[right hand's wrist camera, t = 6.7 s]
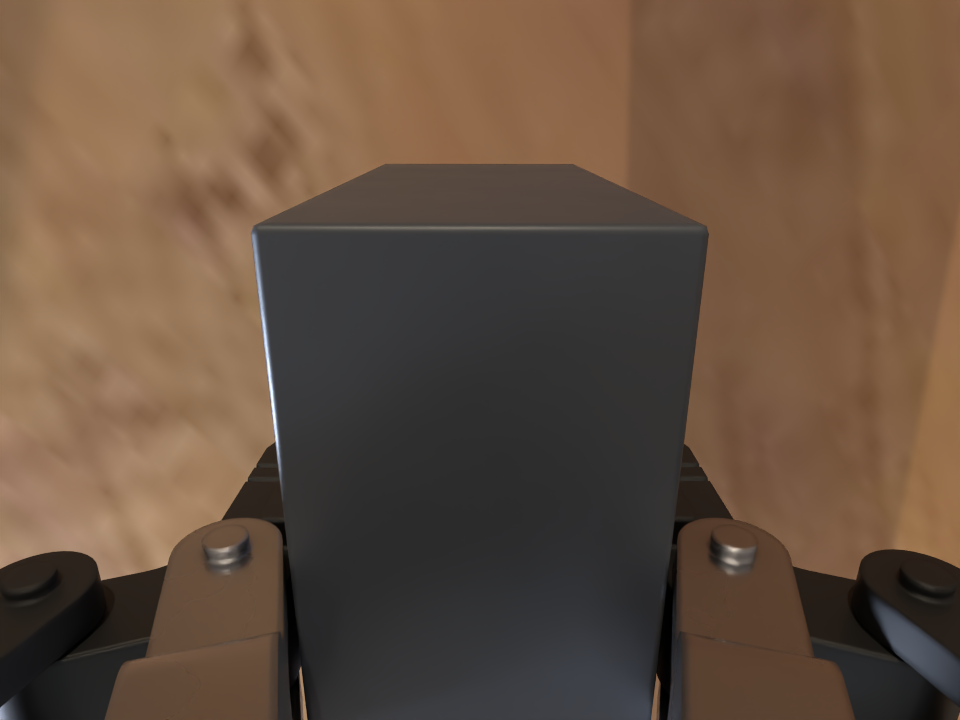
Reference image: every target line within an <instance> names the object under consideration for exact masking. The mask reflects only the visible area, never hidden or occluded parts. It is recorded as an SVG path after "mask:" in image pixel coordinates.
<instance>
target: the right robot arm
mask: <svg viewBox="0 0 960 720" xmlns="http://www.w3.org/2000/svg"><path fill="white" fill-rule="evenodd" d="M707 478H708V477H707V476H706V474H705V473H704V471H703V469H702V468H701V467H699V463H698V461H697V460H696V458H695V457H694V455H693V453H692V452H691V450H690V448H689V447H687V446H686V445H685V444H684V446H683V454H682V463H681V471H680V479H679V488H678V496H677V504H676V513H675V521H674V530H673V538H672V546H671V555H670V563H669V571H668V580H667V588H666V597H665V605H664V613H663V622H662V630H661V638H660V647H659V655H658V664H657V676H658V678H659V681H660V682H659V690H658V699H657V720H957V719H958V716H959V713H960V569H959V568H957V567H955V566H953V565H951V564H949V563H947V562H945V561H942V560H940V559H937V558H934V557H931V556H928V555H925V554H921V553H917V552H912V551H905V550H894V549H892V550H880V551H875V552H872V553H870V554H868V555H867V556H865V557H864V558H863V559H862V561H861V563H860V567H859V571H858V575H857V579H856V580H852V579H847V578H842V577H837V576H832V575H828V574H823V573H818V572H813V571H808V570H804V569H800V568H797V567H793V566H792V562H791V558H790V555H789V553H788V551H787V549H786V548H785V546H784V545H783V544H782V543H781V542H780V541H779V540H778V539H776V538H775V537H774V536H773V535H771V534H769V533H768V532H766V531H765V530H762V529H760V528H758V527H756V526H754V525H751V524H748V523H745V522H742V521H738V520H734V519H733V518H732V516H731V515H730V513H729V511H728V510H727V508H726V507H725V505H724V503H723V502H722V500H721V498H720V497H719V495H718V494H717V492H716V490H715V489H714V487H713V486H712V484H711V482H710V481H708V479H707ZM300 667H301V659H300V650H299V642H298V633H297V624H296V616H295V607H294V598H293V590H292V581H291V573H290V564H289V555H288V547H287V538H286V529H285V521H284V512H283V504H282V495H281V486H280V478H279V469H278V460H277V452H276V443H274V444H272V445H271V446H269V447H268V448H267V449H266V450H265V452H264V454H263V455H262V457H261V458H260V460H259V461H258V463H257V467H256V468H254V469H253V471H252V473H251V474H250V476H249V477H248V482H245V484H244V485H243V487H242V488H241V490H240V492H239V493H238V495H237V496H236V498H235V500H234V501H233V503H232V504H231V506H230V508H229V509H228V511H227V512H226V514H225V515H224V517H223V519H222V520H221V521H218V522H215V523H212V524H209V525H206V526H204V527H202V528H199V529H197V530H195V531H194V532H192V533H190V534H189V535H187V536H186V537H185V538H183V539H182V540H181V541H180V542H179V543H178V544H177V545H176V546H175V548H174V549H173V551H172V552H171V555H170V557H169V561H168V565H167V566H164V567H161V568H158V569H154V570H150V571H146V572H141V573H136V574H131V575H127V576H122V577H117V578H112V579H107V580H102V581H101V579H100V575H99V571H98V567H97V564H96V562H95V561H94V559H93V558H91V557H90V556H88V555H86V554H83V553H79V552H73V551H60V552H50V553H44V554H40V555H36V556H32V557H29V558H26V559H22V560H20V561H17V562H15V563H12V564H10V565H8V566H6V567H4V568H2V569H0V720H303V701H302V691H301V683H300V675H299V670H300Z"/></svg>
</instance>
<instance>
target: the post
mask: <svg viewBox="0 0 960 720" xmlns="http://www.w3.org/2000/svg"><path fill="white" fill-rule="evenodd" d="M251 236H252V245H253V253H254V262H255V271H256V279H257V288H258V297H259V305H260V314H261V322H262V331H263V340H264V348H265V357H266V366H267V374H268V383H269V391H270V400H271V409H272V417H273V426H274V435H275V443H276V452H277V460H278V469H279V478H280V486H281V495H282V504H283V512H284V521H285V529H286V538H287V547H288V555H289V564H290V573H291V581H292V590H293V598H294V607H295V616H296V624H297V633H298V642H299V650H300V659H301V667H302V676H303V685H304V693H305V702H306V711H307V719H308V720H651V714H652V705H653V697H654V689H655V680H656V672H657V664H658V655H659V647H660V638H661V630H662V622H663V613H664V605H665V597H666V588H667V580H668V571H669V563H670V555H671V546H672V538H673V530H674V521H675V513H676V504H677V496H678V488H679V479H680V471H681V463H682V454H683V446H684V437H685V429H686V421H687V412H688V404H689V396H690V387H691V379H692V370H693V362H694V354H695V345H696V337H697V329H698V320H699V312H700V303H701V295H702V287H703V278H704V270H705V262H706V253H707V245H708V236H709V234H708V230H707V227H706V226H704V225H702V224H700V223H698V222H696V221H694V220H691V219H689V218H687V217H685V216H683V215H681V214H679V213H676V212H674V211H672V210H670V209H668V208H666V207H664V206H662V205H659V204H657V203H655V202H653V201H651V200H649V199H647V198H644V197H642V196H640V195H638V194H636V193H634V192H632V191H629V190H627V189H625V188H623V187H621V186H619V185H617V184H614V183H612V182H610V181H608V180H606V179H604V178H602V177H599V176H597V175H595V174H593V173H591V172H589V171H587V170H584V169H582V168H580V167H578V166H576V165H574V164H385V165H382V166H380V167H378V168H376V169H374V170H372V171H369V172H367V173H365V174H363V175H361V176H359V177H357V178H355V179H352V180H350V181H348V182H346V183H344V184H342V185H340V186H337V187H335V188H333V189H331V190H329V191H327V192H325V193H323V194H320V195H318V196H316V197H314V198H312V199H310V200H308V201H305V202H303V203H301V204H299V205H297V206H295V207H293V208H290V209H288V210H286V211H284V212H282V213H280V214H278V215H276V216H273V217H271V218H269V219H267V220H265V221H263V222H261V223H258V224H256V225H254V226H253V229H252V233H251Z"/></svg>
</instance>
